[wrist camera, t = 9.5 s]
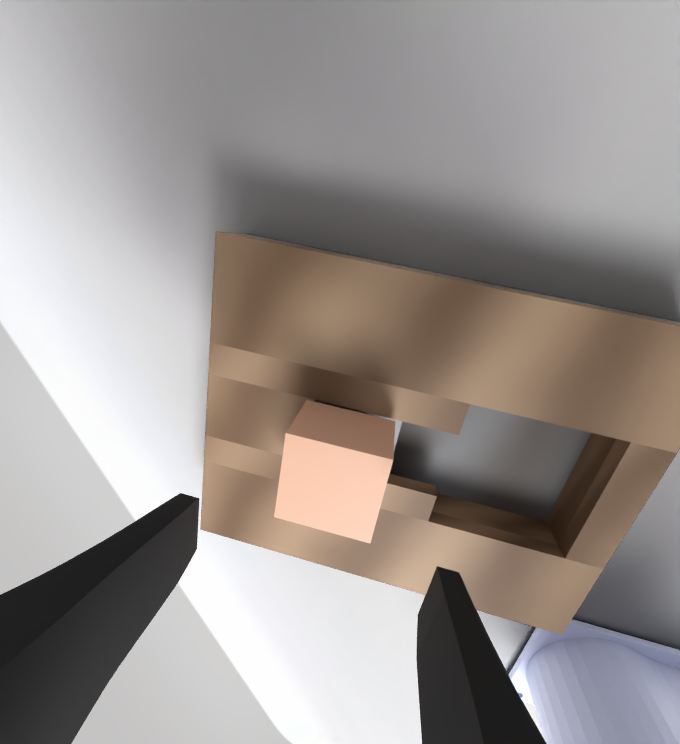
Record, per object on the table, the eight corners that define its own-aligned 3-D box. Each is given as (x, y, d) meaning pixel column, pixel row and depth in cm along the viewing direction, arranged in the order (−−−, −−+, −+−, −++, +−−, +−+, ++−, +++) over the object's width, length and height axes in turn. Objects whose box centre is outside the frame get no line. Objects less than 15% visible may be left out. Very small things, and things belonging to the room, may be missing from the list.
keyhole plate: (681, 322, 15) (747, 340, 12) (539, 580, 21) (561, 634, 18) (248, 234, 17) (215, 231, 14) (226, 492, 23) (200, 529, 20)
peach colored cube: (408, 388, 18) (410, 451, 12) (386, 470, 19) (379, 556, 14) (312, 366, 18) (274, 417, 13) (299, 448, 20) (261, 523, 15)
